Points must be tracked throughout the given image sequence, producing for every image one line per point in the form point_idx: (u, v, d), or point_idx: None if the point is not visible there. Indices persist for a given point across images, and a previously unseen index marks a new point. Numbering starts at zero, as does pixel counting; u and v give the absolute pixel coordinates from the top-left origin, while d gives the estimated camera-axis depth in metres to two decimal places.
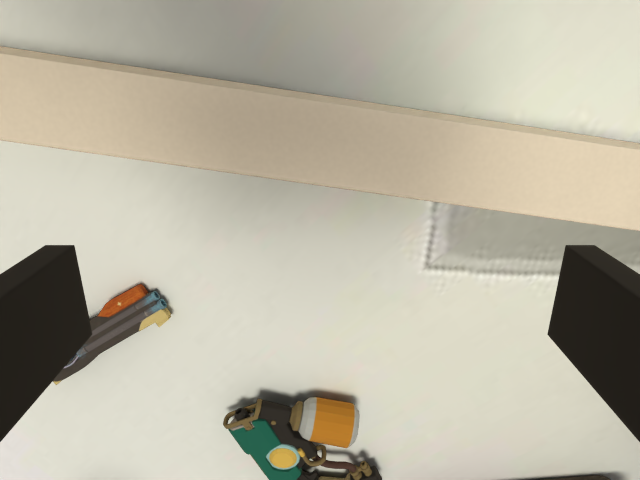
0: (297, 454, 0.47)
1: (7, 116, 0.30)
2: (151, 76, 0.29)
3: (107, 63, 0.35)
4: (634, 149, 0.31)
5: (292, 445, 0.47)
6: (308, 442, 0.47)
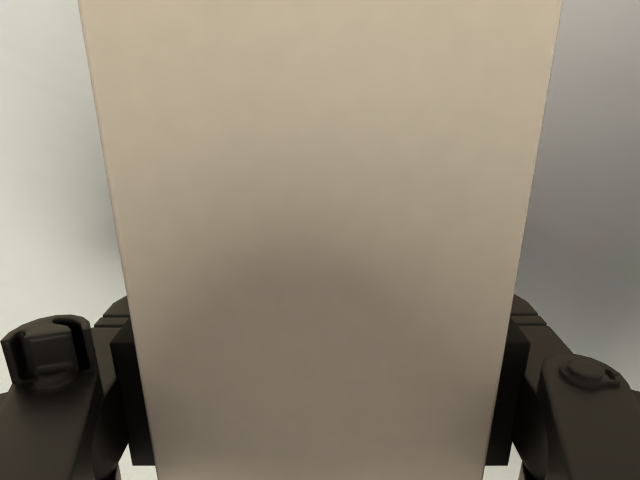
0: None
1: None
2: None
3: None
4: None
5: None
6: None
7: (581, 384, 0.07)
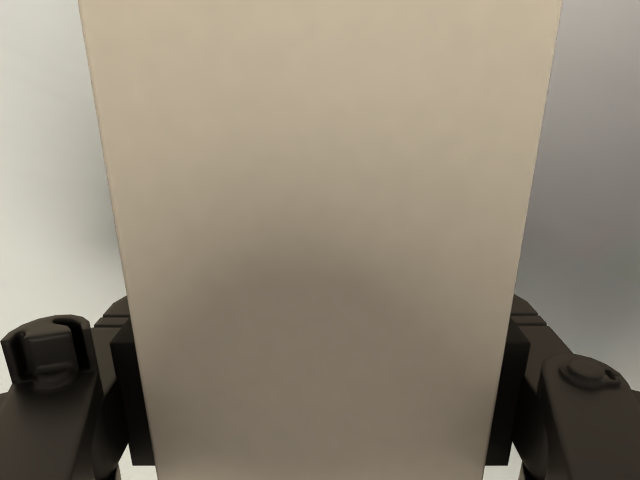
0: None
1: None
2: None
3: None
4: None
5: None
6: None
7: (581, 384, 0.07)
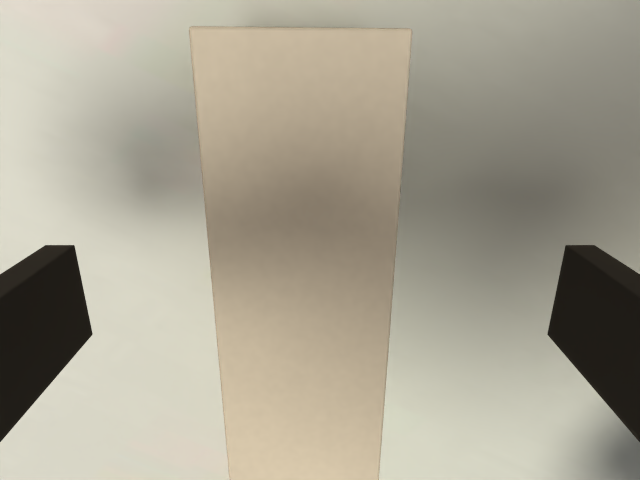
0: None
1: (272, 450, 0.16)
2: None
3: None
4: None
5: None
6: None
7: None
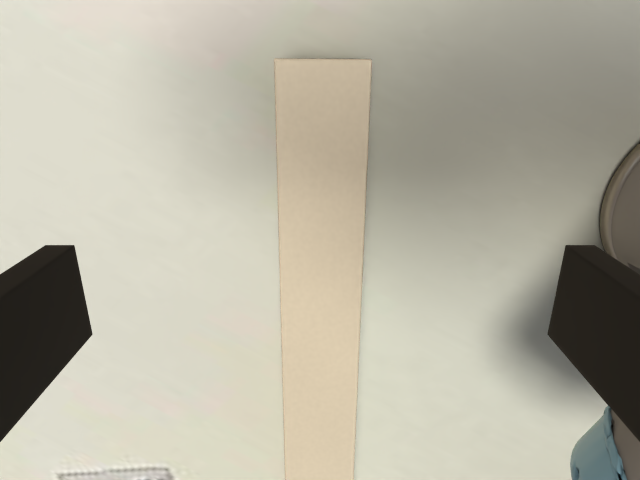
0: None
1: (304, 279, 0.31)
2: (356, 391, 0.34)
3: None
4: None
5: None
6: None
7: None
